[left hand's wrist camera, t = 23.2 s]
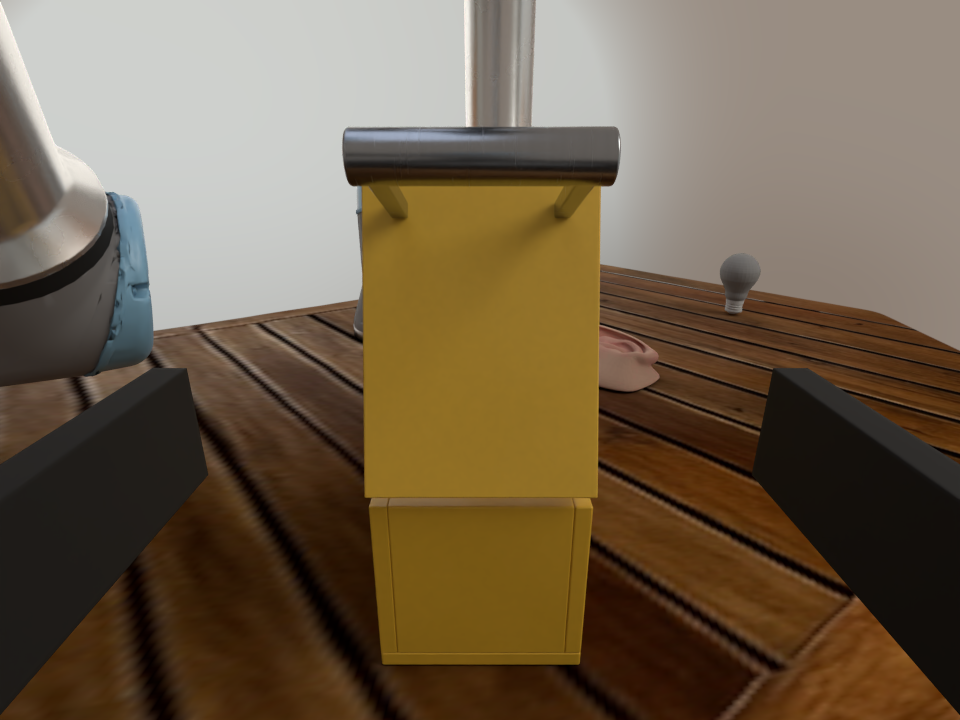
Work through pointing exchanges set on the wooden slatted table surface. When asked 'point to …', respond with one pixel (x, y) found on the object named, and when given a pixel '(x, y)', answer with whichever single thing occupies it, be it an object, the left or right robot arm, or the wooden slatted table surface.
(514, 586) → the chest
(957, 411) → the wooden slatted table surface
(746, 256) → the light bulb
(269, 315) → the wooden slatted table surface
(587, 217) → the lid
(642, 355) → the anatomical model
